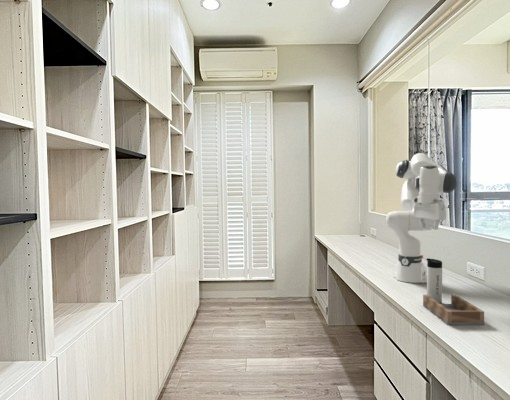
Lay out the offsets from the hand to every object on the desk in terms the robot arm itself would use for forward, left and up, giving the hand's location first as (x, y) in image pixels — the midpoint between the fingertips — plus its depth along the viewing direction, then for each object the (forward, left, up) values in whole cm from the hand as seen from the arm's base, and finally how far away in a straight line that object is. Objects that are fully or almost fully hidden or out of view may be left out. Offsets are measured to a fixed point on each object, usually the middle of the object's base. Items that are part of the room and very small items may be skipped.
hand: (429, 228), depth 176 cm
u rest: (+17, +16, -33) cm, 41 cm away
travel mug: (+6, +5, -33) cm, 34 cm away
